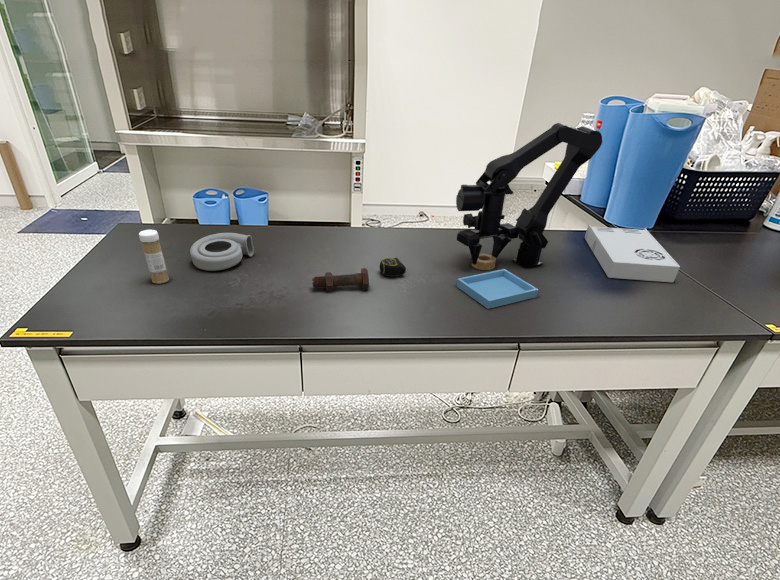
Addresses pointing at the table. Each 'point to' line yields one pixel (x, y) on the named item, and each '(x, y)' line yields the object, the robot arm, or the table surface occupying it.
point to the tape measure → (392, 267)
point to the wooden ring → (485, 262)
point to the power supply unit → (631, 254)
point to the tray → (496, 288)
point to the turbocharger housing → (221, 251)
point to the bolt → (342, 280)
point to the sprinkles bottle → (154, 256)
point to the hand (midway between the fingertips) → (483, 262)
